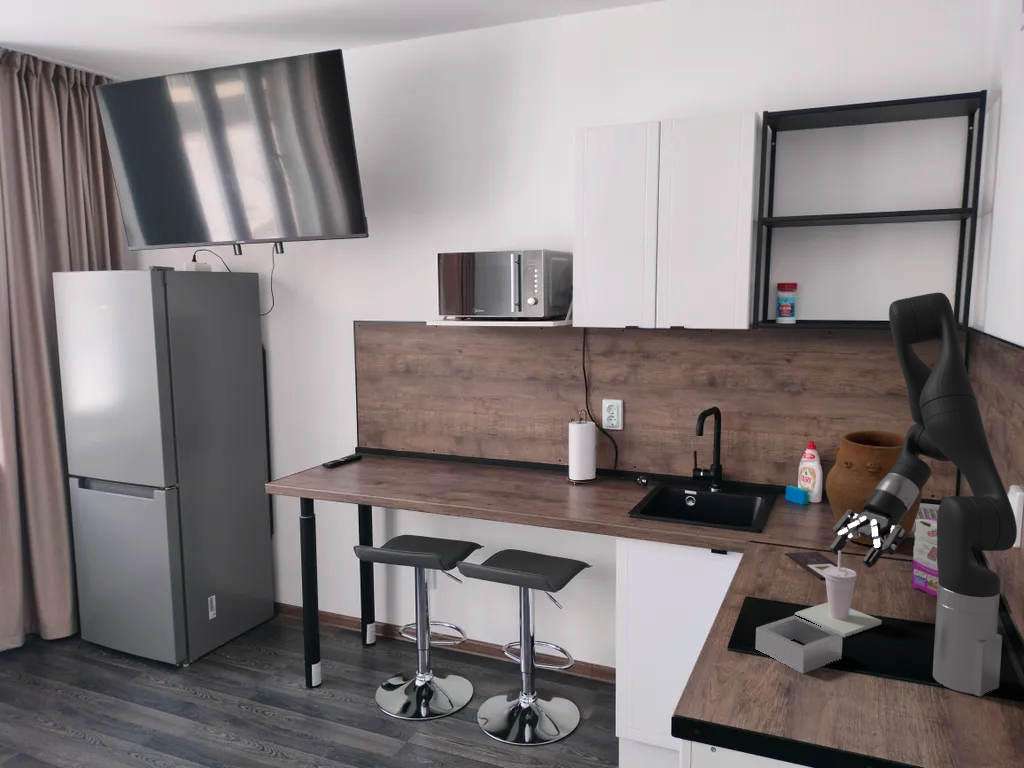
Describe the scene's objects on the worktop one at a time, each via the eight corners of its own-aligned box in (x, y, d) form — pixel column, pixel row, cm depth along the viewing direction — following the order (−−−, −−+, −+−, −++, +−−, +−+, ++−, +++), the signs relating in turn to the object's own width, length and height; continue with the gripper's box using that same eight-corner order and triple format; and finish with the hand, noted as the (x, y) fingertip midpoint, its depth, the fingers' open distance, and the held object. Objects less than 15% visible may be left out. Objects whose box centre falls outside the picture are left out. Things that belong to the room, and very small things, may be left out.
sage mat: (881, 624, 159) (881, 620, 158) (844, 637, 152) (844, 633, 152) (831, 604, 169) (831, 600, 169) (794, 616, 163) (794, 612, 163)
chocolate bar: (817, 551, 202) (855, 576, 184) (817, 555, 202) (855, 580, 184) (784, 553, 201) (820, 578, 183) (784, 556, 201) (820, 581, 183)
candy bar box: (969, 601, 170) (973, 529, 168) (952, 604, 168) (957, 532, 166) (925, 584, 180) (929, 516, 179) (910, 587, 179) (913, 518, 177)
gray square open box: (841, 658, 143) (842, 635, 143) (802, 673, 138) (803, 649, 137) (793, 637, 153) (794, 615, 152) (755, 650, 147) (756, 627, 147)
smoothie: (844, 609, 164) (847, 546, 162) (861, 621, 158) (864, 556, 156) (816, 611, 163) (818, 547, 162) (832, 623, 157) (834, 557, 155)
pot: (819, 546, 208) (823, 438, 205) (828, 523, 229) (832, 424, 226) (919, 560, 197) (925, 445, 193) (918, 534, 218) (924, 430, 215)
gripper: (856, 481, 169) (814, 538, 165) (912, 496, 156) (868, 558, 152) (872, 502, 171) (832, 558, 168) (929, 518, 158) (886, 580, 155)
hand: (849, 558), depth 160 cm, fingers open, 8 cm apart
